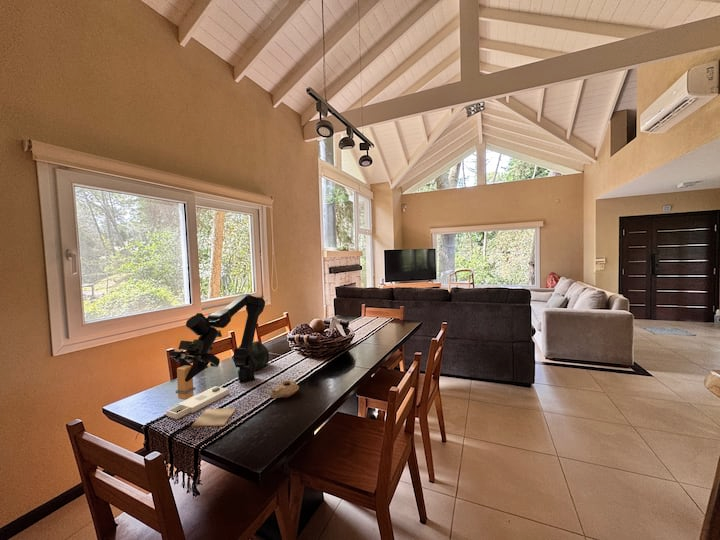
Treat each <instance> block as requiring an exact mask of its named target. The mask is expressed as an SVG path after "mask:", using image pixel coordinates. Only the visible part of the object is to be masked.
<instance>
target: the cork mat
mask: <svg viewBox="0 0 720 540" xmlns="http://www.w3.org/2000/svg"><path fill="white" fill-rule="evenodd" d="M236 410H237V407H226V408H207V409H205V410H204V411H203V412H202V413H201V414H200V415H199V417H198V418H196V420H195V421H194V422H193V423H192V424H191V425H190V427H191V428H192V427H193V428H194V427H216V426H217V427H218V426H219V427H221V426H225V425H226V424H227V423H228V421H229V419H231V417H232V416H233V414H234V413H235V412H236Z"/></svg>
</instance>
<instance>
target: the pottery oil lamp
mask: <svg viewBox="0 0 720 540" xmlns="http://www.w3.org/2000/svg"><path fill="white" fill-rule="evenodd" d="M299 389H300V386H299V385H298V384H297V381H296V380H292V381H291V380H285V381H282V382H281V383H280V384H279V385H278V386H277V387H276V388H274V389H273V390H271V391H270V392H269V397H270V398H272V399H280V398H288V397H291V396H292V395H294V394H295V393H297V392H298V390H299Z"/></svg>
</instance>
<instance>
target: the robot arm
mask: <svg viewBox="0 0 720 540" xmlns="http://www.w3.org/2000/svg"><path fill="white" fill-rule="evenodd" d="M265 305H266V301H265V299H264V298H263V297H257V296H254V295H251V294H249V293H247V294H244V293H241V294H239V295H238V297H237V298H235V299H234V300H233V301H232V302H230V303H229V304H227V305H226V306H225V307H224V308H222V309H219V310H216V311H214V312H212V313H210V314H209V315H208V316H207V317H205V315H204V314H203V313H202V312H197V313H196V314H195V315H193V316H191V317H190V318H188V319H187V321H186V323H185V326H186V328H188V329H189V330H190V331H191V332H192V333H194V334H195V335H196V336H199V337H198V338H197V339H193V340H192V341H190V340H180V343H179V346H178V348H177V349H178V350H177V349H175V350H173V351H172V352H171V354H170V355H169V357H170V358H172V359H174V361H176V362H177V363H179V367H182V366H184V365H188V366H192V367H191V369H190V371H189V373H188V375H187V377H186V379H185V381H186V382H188V381H189V380H190V379H192V378H193V379H194V377H196V376H197V375H198V374H199V373H201V372H202V371H204V370H205V369H208V368H209V365H210V367H211V368H212V367H213V368H218V366H219V365H220V364H221V363H220V361H221V360H220V358H219V357H217V356H216V355H215V354H213V353H210V352H209V351H212V350H213V348H214V347H213V345H214V343H215V341H216V339H217V338H222V337H223V336H222V331H221V330H219V329H224V328H226V327H227V326H228V325H229V324H230V323H231V320H232V318H233V316H235V315H236V314H237V313H238V312H239V311H240V310H241V309H243V308H244V307H245V310H246V313H247V317H246V321H245V325H244V329H243V335H242V338H241V342H240V345H239V346H238V347H235V349H234V351H233V355H232V357H233V358H232V361H233V363H234V365H235V368H238V370H237V379H238V381H239V383H240V384H243V383H242V382H244V383H249V382H253V380H254V381H256V378H255V369H254V368H255V367H256V366H257V363H258V361H257V360H256V359H255V358H254V351H253V348H252V343H253V342H254V337H255V333H256V329H257V324H258V321H259V320H258V319H259V316H260V315H261V314H262V313H263V311H264V310H265V309H264V308H265ZM217 328H219V329H217ZM191 362H192V364H191ZM179 367H178V368H179ZM248 381H249V382H248Z"/></svg>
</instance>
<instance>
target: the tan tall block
mask: <svg viewBox="0 0 720 540" xmlns="http://www.w3.org/2000/svg"><path fill="white" fill-rule="evenodd" d="M191 367H192V366H188V365H184V366H182V367H177V368H176V381H177V390H175V394H177V398H178V400H183V401H185V400H187V399H189V398H191V397H193V396H195V394H194V391H195V390H196V388H197V387H196V386H194V377H193V378H192V379H190V380H189V381H188V382H186V381H185V379H186V377H187V375H188V373H189V371H190V369H191Z"/></svg>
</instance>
